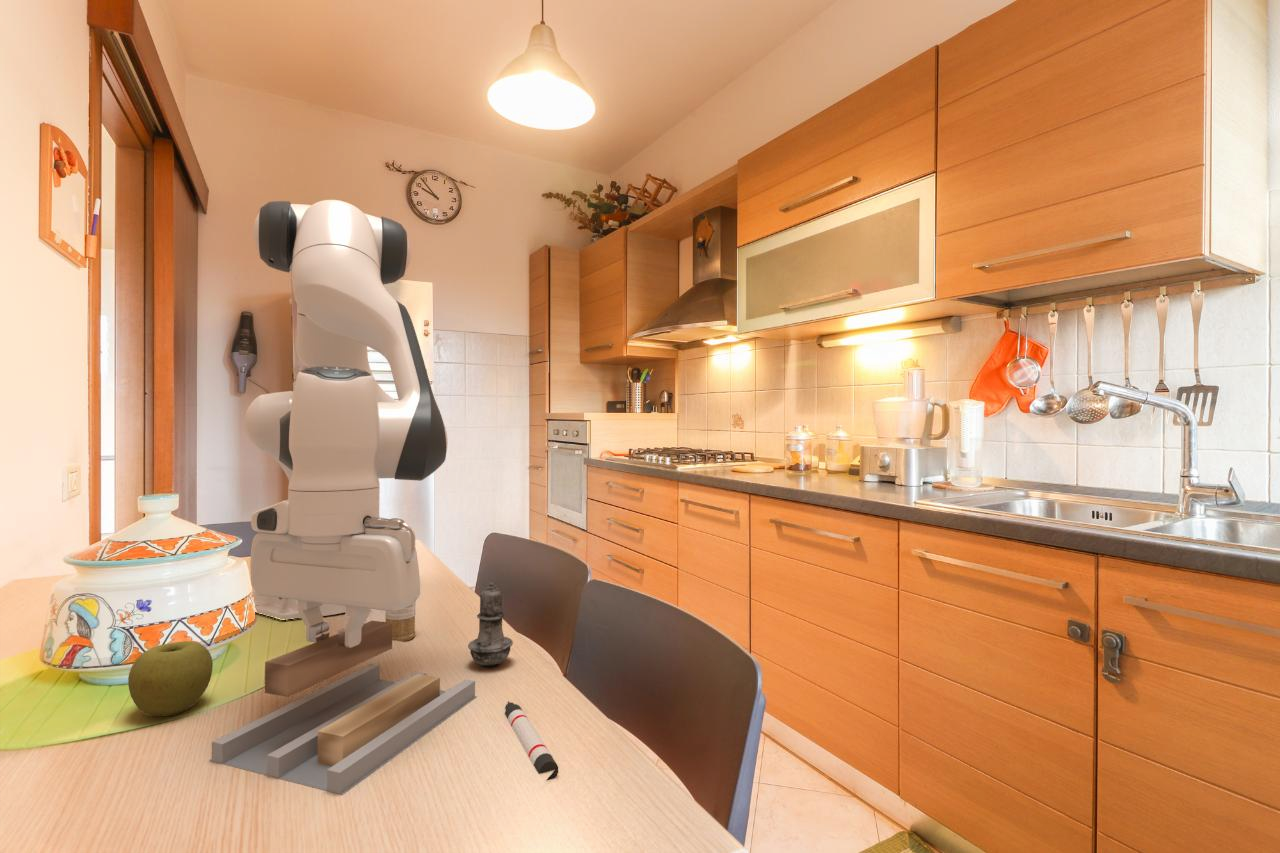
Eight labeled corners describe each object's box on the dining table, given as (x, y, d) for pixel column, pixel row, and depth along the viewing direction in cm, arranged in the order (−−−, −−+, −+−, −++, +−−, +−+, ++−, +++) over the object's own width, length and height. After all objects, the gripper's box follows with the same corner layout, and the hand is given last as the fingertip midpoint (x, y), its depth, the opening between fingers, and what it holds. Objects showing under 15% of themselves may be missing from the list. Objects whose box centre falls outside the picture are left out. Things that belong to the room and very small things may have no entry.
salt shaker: (501, 681, 76) (502, 587, 76) (459, 676, 77) (460, 585, 77) (519, 663, 82) (520, 576, 82) (480, 660, 83) (481, 574, 83)
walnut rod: (264, 692, 58) (265, 661, 58) (371, 645, 71) (372, 620, 71) (287, 697, 57) (288, 665, 57) (392, 648, 70) (392, 623, 70)
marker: (558, 780, 55) (558, 758, 55) (538, 785, 54) (538, 764, 54) (516, 710, 69) (516, 693, 69) (499, 714, 68) (499, 696, 68)
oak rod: (317, 763, 56) (317, 731, 56) (417, 699, 69) (418, 673, 69) (342, 769, 55) (342, 736, 55) (439, 703, 68) (439, 677, 68)
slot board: (209, 768, 56) (209, 741, 56) (368, 684, 75) (368, 663, 75) (342, 803, 51) (342, 773, 51) (477, 703, 70) (477, 681, 70)
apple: (216, 689, 73) (217, 631, 73) (206, 717, 66) (207, 653, 66) (137, 703, 69) (138, 641, 69) (118, 733, 62) (119, 665, 62)
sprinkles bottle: (387, 645, 88) (388, 555, 89) (381, 636, 92) (382, 550, 92) (419, 639, 91) (420, 551, 91) (411, 630, 95) (412, 546, 95)
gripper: (433, 515, 64) (432, 644, 64) (290, 507, 70) (288, 624, 70) (392, 523, 58) (390, 665, 58) (239, 514, 64) (237, 641, 64)
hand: (333, 643), depth 64 cm, fingers closed on walnut rod, 3 cm apart
